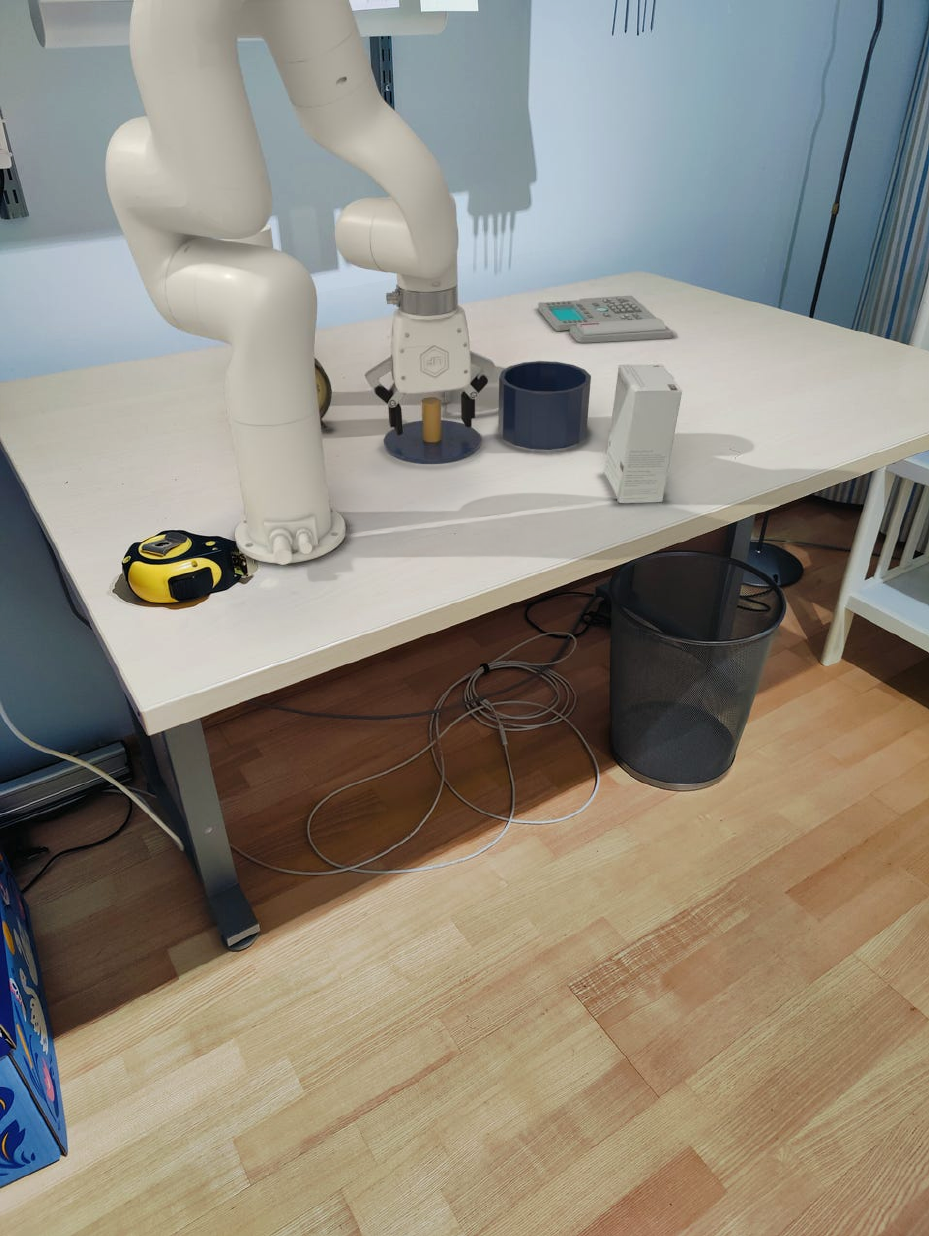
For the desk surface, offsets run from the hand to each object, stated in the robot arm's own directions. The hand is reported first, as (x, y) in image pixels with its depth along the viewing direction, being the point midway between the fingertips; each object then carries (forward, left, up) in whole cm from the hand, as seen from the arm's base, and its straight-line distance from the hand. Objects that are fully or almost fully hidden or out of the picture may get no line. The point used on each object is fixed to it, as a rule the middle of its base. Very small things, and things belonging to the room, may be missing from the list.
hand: (432, 427), depth 119 cm
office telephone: (+47, -43, -3) cm, 64 cm away
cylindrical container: (+23, +21, -3) cm, 31 cm away
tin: (0, -16, -3) cm, 16 cm away
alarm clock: (+10, +18, -3) cm, 21 cm away
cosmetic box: (-19, -22, -3) cm, 29 cm away
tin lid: (0, 0, -2) cm, 2 cm away
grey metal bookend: (+19, -13, -3) cm, 23 cm away
